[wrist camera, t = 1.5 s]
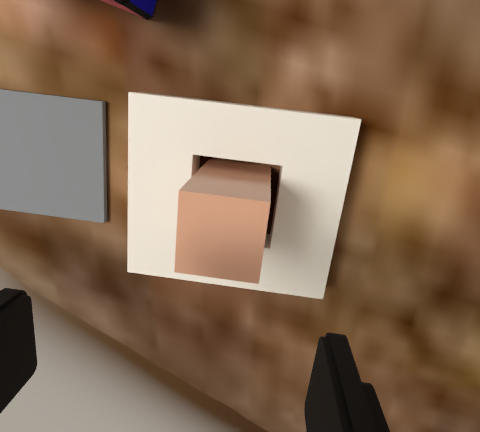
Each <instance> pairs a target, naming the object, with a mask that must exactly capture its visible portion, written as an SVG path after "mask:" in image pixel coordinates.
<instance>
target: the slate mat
mask: <svg viewBox="0 0 480 432" xmlns="http://www.w3.org/2000/svg"><path fill="white" fill-rule="evenodd" d="M0 209H4V210H11V211H19V212H26V213H33V214H41V215H48V216H56V217H63V218H71V219H78V220H85V221H93V222H100V223H105V222H106V221H107V164H106V101H98V100H89V99H81V98H73V97H64V96H56V95H47V94H39V93H31V92H22V91H14V90H6V89H0Z"/></svg>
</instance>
